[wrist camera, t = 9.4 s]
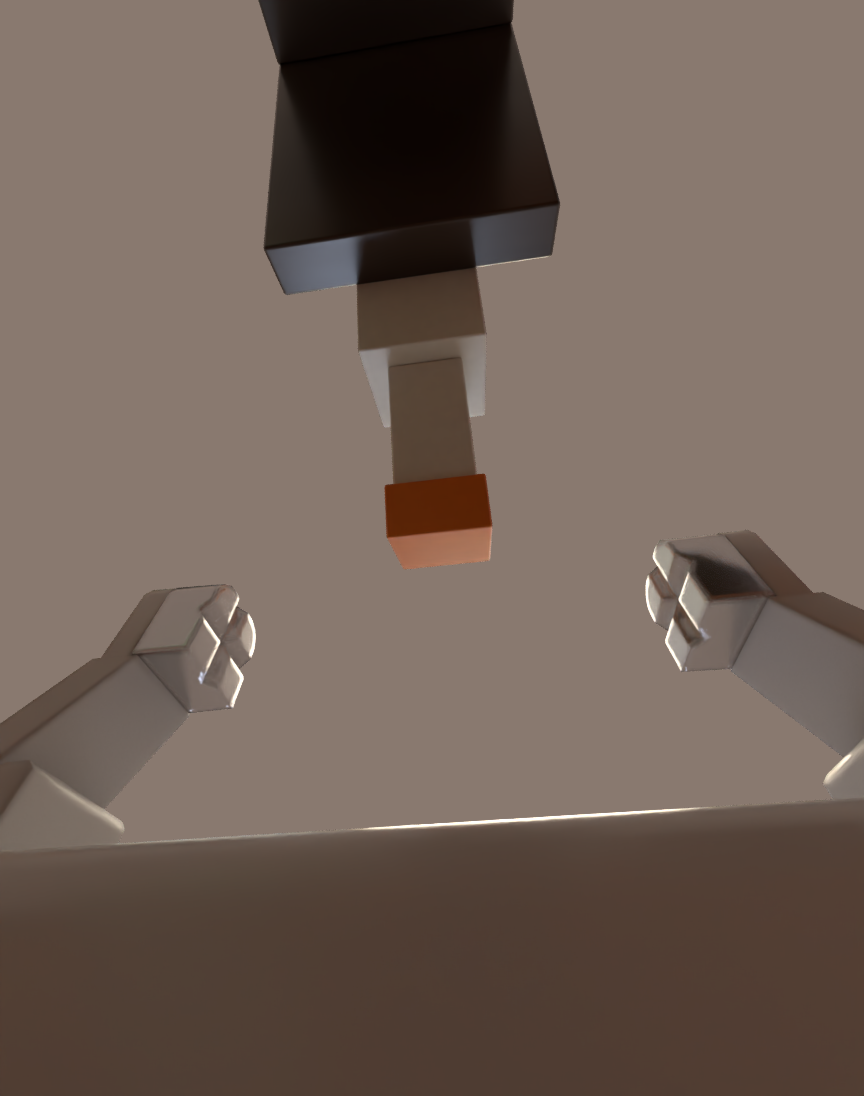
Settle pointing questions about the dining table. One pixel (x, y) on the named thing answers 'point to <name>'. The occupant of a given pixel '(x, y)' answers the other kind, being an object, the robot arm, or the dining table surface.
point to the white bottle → (429, 411)
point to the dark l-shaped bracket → (401, 143)
